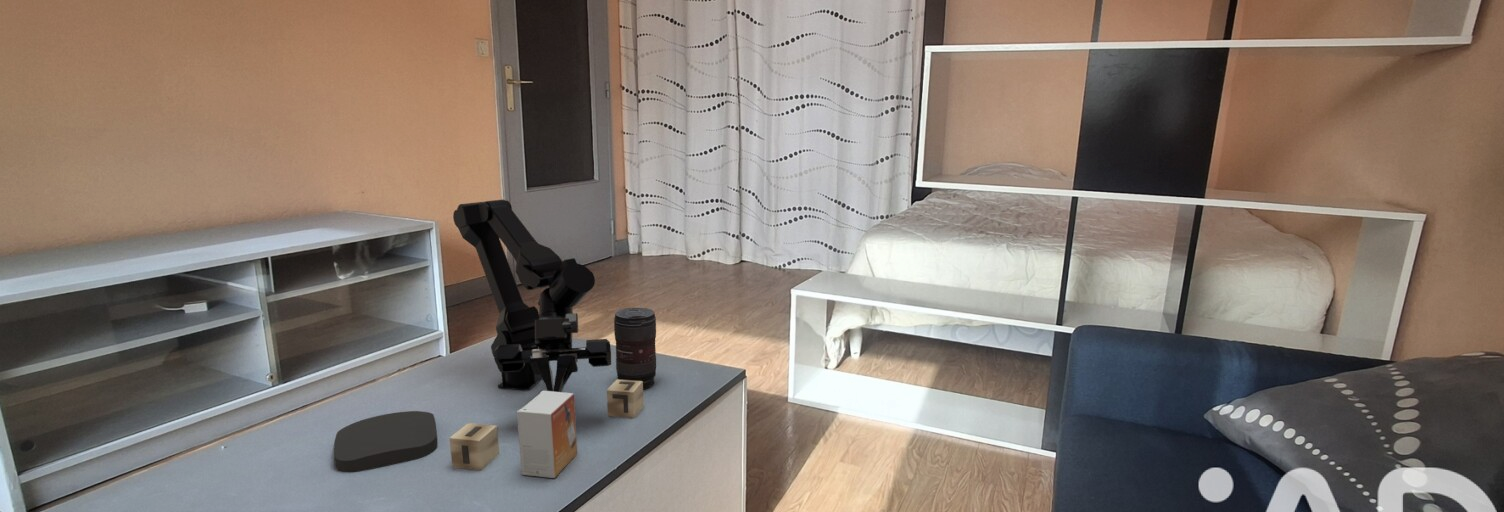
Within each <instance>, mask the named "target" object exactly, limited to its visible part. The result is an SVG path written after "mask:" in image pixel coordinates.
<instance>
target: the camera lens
mask: <svg viewBox="0 0 1504 512" xmlns="http://www.w3.org/2000/svg"><path fill="white" fill-rule="evenodd" d="M613 325H614V327H613V328H614V332H613V333H614V341H615V369H616V374H617V375H616V376H617V377H616V378H617V379H619V380H632V381H643V390H646V389H648V388H650V387H652V386H653V385H654V383H655V377H656V375H657V372H656V370H657V353H656V352H657V351H656V339H657V338H656V337H657V319H656V314H655V311H654V310H653V309H651V308H647V307H629V308H628V307H627V308H622V309H619V310H617V311H616V312H615V313H614V318H613Z"/></svg>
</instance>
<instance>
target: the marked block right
mask: <svg viewBox="0 0 1504 512" xmlns="http://www.w3.org/2000/svg"><path fill="white" fill-rule="evenodd" d="M606 405H607V416H608V417H619V418H628V419H635V418H636V416H637V415H638V414H639V413H640V411H642V408H644V405H645V404H644V389H643V381H632V380H619V379H618V378H617V379H616V380H614V382H613V383H612V384H611V385H610V386H609V387H608V388H607V389H606Z"/></svg>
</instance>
